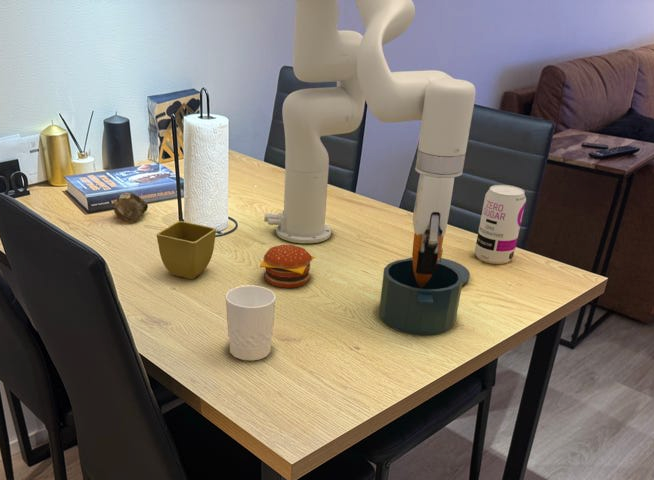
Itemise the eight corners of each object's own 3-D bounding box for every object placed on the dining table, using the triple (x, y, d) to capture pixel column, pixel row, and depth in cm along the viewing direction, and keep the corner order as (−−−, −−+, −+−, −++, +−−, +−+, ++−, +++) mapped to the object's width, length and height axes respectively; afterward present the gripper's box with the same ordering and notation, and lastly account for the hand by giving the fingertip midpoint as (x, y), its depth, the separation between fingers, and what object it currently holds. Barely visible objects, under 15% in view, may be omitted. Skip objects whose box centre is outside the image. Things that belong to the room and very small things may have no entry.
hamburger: (315, 273, 141) (317, 242, 137) (302, 292, 133) (304, 260, 129) (271, 265, 143) (272, 235, 139) (256, 284, 135) (257, 253, 132)
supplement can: (513, 253, 152) (528, 186, 144) (511, 267, 145) (527, 198, 137) (475, 248, 154) (488, 182, 146) (472, 261, 147) (485, 193, 140)
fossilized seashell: (126, 198, 170) (101, 216, 163) (133, 178, 165) (109, 197, 158) (150, 216, 170) (127, 236, 163) (158, 198, 165) (135, 217, 158)
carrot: (433, 282, 124) (446, 201, 116) (436, 294, 120) (450, 211, 112) (406, 280, 124) (417, 200, 117) (407, 292, 120) (419, 209, 112)
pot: (379, 339, 118) (384, 294, 113) (378, 291, 134) (383, 250, 129) (459, 346, 117) (468, 301, 112) (449, 296, 133) (457, 255, 128)
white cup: (225, 339, 117) (224, 285, 111) (271, 338, 117) (273, 284, 112) (226, 363, 110) (226, 307, 105) (275, 362, 110) (277, 307, 105)
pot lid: (397, 288, 135) (401, 259, 132) (395, 259, 148) (399, 232, 145) (473, 293, 134) (478, 265, 131) (464, 264, 146) (469, 237, 143)
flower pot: (217, 269, 141) (217, 227, 136) (196, 286, 134) (194, 242, 129) (180, 261, 144) (179, 220, 139) (157, 277, 137) (155, 234, 132)
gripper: (413, 147, 118) (400, 247, 128) (419, 176, 104) (404, 285, 113) (458, 150, 117) (442, 250, 127) (469, 179, 103) (450, 289, 112)
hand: (424, 265), depth 120 cm, fingers closed on carrot, 4 cm apart
